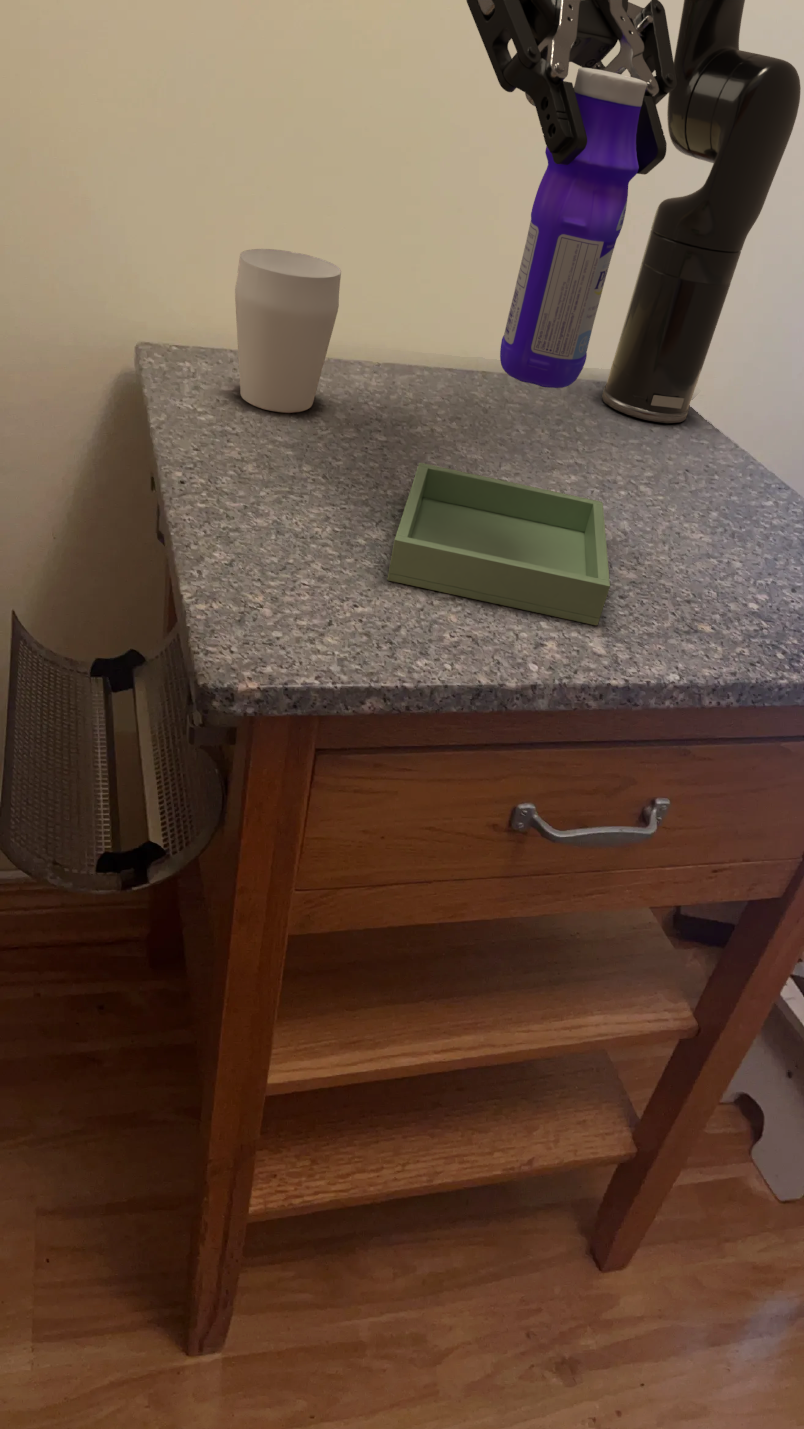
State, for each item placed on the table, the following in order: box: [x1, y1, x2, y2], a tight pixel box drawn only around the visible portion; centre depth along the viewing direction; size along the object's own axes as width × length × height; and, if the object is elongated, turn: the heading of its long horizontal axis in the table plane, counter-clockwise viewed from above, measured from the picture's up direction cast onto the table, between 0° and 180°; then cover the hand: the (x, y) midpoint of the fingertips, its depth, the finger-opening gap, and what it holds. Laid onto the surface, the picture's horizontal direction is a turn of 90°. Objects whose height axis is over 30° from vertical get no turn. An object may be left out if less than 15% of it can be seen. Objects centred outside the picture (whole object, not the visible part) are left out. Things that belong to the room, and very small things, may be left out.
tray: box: [386, 462, 611, 626], centre depth 75 cm, size 15×15×3 cm
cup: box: [234, 248, 342, 414], centre depth 92 cm, size 9×9×12 cm
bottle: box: [499, 67, 647, 389], centre depth 64 cm, size 7×6×17 cm
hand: (612, 160), depth 60 cm, fingers closed on bottle, 5 cm apart
